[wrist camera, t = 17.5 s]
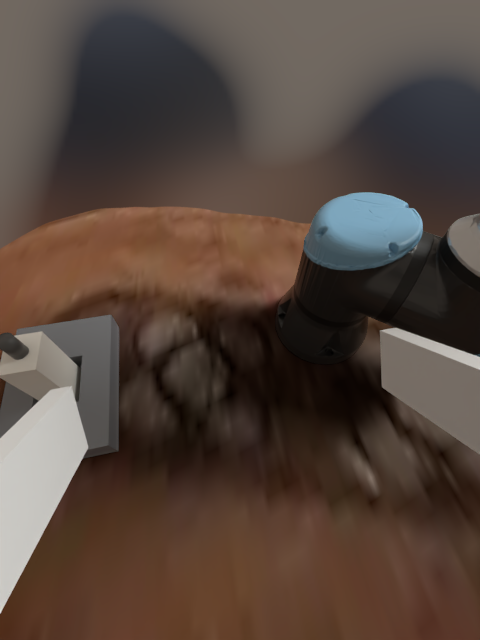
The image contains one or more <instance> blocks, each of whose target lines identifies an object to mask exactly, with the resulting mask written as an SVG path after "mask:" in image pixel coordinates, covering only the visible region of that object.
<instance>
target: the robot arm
mask: <svg viewBox="0 0 480 640" xmlns="http://www.w3.org/2000/svg"><path fill="white" fill-rule="evenodd" d="M422 227H423V226H422V220H421V217H420V216H419V214H418V212H417V211H416V210H415V209H414V208H408V204H407V203H406V202H404V201H402V200H400V199H398V198H395V197H392V196H389V195H385V194H379V193H368V192H366V193H365V192H364V193H354V194H348V195H347V196H342V197H338V198H336V199H333V200H331V201H330V202H328V203H326V204H325V205H324V206H323V207H322V208H321V209H320V210H319V211H318V212H317V214H316V215H315V217H314V219H313V221H312V224H311V227H310V229H309V232H308V234H307V235H306V237H305V240H304V249H303V253H302V257H301V261H300V265H299V269H298V273H297V276H296V280H295V284H294V285H293V286H292V287H291V288H290V290H289V291H288V292H287V293H286V294H285V295H284V296H283V298H282V299H281V301H280V303H279V305H278V308H277V313H276V317H275V326H276V331H277V334H278V336H279V338H280V340H281V341H282V343H283V344H284V345H285V347H286V348H287V349H288V350H289V351H291V352H292V353H293V354H294V355H296V356H298V357H299V358H301V359H303V360H306V361H308V362H312V363H316V364H335V363H339V362H342V361H344V360H346V359H348V358H350V357H351V356H352V355H353V354H354V353H355V352H356V351H357V350H358V349H359V347H360V346H361V345H362V343H363V341H364V339H365V337H366V333H367V326H368V316H369V317H371V318H374V319H376V320H378V321H381V322H383V323H385V324H387V325H390V326H392V327H394V328H391V329H386V330H380V345H381V380H382V388H384V389H385V390H387V391H388V392H389V393H391V394H392V395H394V396H395V397H397V398H398V399H400V400H401V401H403V402H404V403H405V404H407V405H408V406H410V407H411V408H413V409H414V410H416V411H417V412H419V413H420V414H421V415H423V416H424V417H426V418H427V419H429V420H430V421H432V422H433V423H435V424H436V425H437V426H439V427H440V428H442V429H443V430H445V431H446V432H448V433H449V434H451V435H452V436H453V437H455V438H456V439H458V440H459V441H461V442H462V443H464V444H465V445H467V446H468V447H469V448H471V449H472V450H474V451H475V452H477V453H478V454H480V214H477V215H472V216H468V217H464V218H461V219H459V220H457V221H455V222H454V224H453V225H452V226H451V227H450V228H449V229H448V231H447V232H446V234H445V235H444V236H443V237H442V238H441V237H439V236H436V235H433V234H430V233H427V232H423V230H422ZM87 449H88V444H87V440H86V437H85V433H84V429H83V426H82V422H81V419H80V415H79V411H78V408H77V404H76V401H75V397H74V393H73V390H72V386H68V387H63V388H57V389H52V390H50V391H49V392H48V393H47V394H46V395H45V396H44V397H43V398H42V399H41V400H40V401H38V402H37V403H36V404H35V405H34V406H33V407H32V408H31V409H30V410H29V411H28V412H27V413H26V414H25V415H24V416H23V417H22V418H21V419H20V420H19V421H18V422H17V423H16V424H15V425H14V426H13V427H11V428H10V429H9V430H8V431H7V432H6V433H5V434H4V435H3V436H2V437H1V438H0V613H1V611H2V609H3V607H4V606H5V604H6V602H7V600H8V598H9V596H10V594H11V592H12V590H13V589H14V587H15V585H16V583H17V581H18V579H19V577H20V575H21V574H22V572H23V570H24V568H25V566H26V564H27V562H28V560H29V558H30V557H31V555H32V553H33V551H34V549H35V547H36V545H37V543H38V541H39V540H40V538H41V536H42V534H43V532H44V530H45V528H46V526H47V524H48V523H49V521H50V519H51V517H52V515H53V513H54V511H55V509H56V508H57V506H58V504H59V502H60V500H61V498H62V496H63V494H64V492H65V491H66V489H67V487H68V485H69V483H70V481H71V479H72V477H73V475H74V474H75V472H76V470H77V468H78V466H79V464H80V462H81V460H82V459H83V457H84V455H85V453H86V451H87Z"/></svg>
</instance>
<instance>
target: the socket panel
mask: <svg viewBox="0 0 480 640" xmlns="http://www.w3.org/2000/svg"><path fill="white" fill-rule="evenodd" d="M41 331H42V332H43V333H44V334H45V335H46V336H47V337H48V338H49V339H50V340H52V341H53V342H54V343H55V344H56V345H57V346H58V347H59V348H60V349H61V350H62V351H63V352H64V353H65V354H66V355H67V356H68V357H69V358H70V359H71V360H72V361H73V362H74V363H75V364H76V365H77V366H78V367H79V368H81V379H80V393H79V401H78V402H76V404H77V408H78V411H79V415H80V419H81V422H82V426H83V429H84V433H85V437H86V440H87V444H88V449H87V451H86V453H85V455H84V457H83V458H88V457H93V456H97V455H102V454H107V453H112V452H116V451H119V327H118V325H117V323H116V322H115V320H114V319H113V317H112V315H106V316H100V317H93V318H87V319H80V320H74V321H67V322H61V323H54V324H48V325H41V326H35V327H28V328H22V329H17V333H16V335H22V334H28V333H35V332H41ZM37 402H38V400H37V399H35V398H33V397H32V396H30V395H28V394H27V393H25V392H23V391H21V390H20V389H18V388H16V387H15V386H13V385H11V384H10V383H8V382H6V385H5V389H4V394H3V399H2V404H1V408H0V438H1V437H2V436H3V435H4V434H5V433H6V432H7V431H8V430H9V429H10V428H11V427H13V426H14V425H15V424H16V423H17V422H18V421H19V420H20V419H21V418H22V417H23V416H24V415H25V414H26V413H27V412H28V411H29V410H30V409H31V408H32V407H33V406H34V405H35V404H36V403H37Z"/></svg>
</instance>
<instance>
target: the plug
mask: <svg viewBox="0 0 480 640" xmlns="http://www.w3.org/2000/svg"><path fill="white" fill-rule="evenodd" d="M0 349H1V350H2V351H3V353H2V357H1V361H0V378H1V379H3V380H5V381H6V382H8V383H10V384H11V385H13V386H15V387H16V388H18V389H20V390H21V391H23V392H25V393H27V394H28V395H30V396H32V397H33V398H35V399H37V400H38V401H40V400H41V399H42V398H43V397H44V396H45V395H46V394H47V393H48V392H49V391H50V390H52V389H57V388H63V387H68V386H72V390H73V393H74V397H75V401H76V402H78V401H79V393H80V379H81V368H79V367H78V366H77V365H76V364H75V363H74V362H73V361H72V360H71V359H70V358H69V357H68V356H67V355H66V354H65V353H64V352H63V351H62V350H61V349H60V348H59V347H58V346H57V345H56V344H55V343H54V342H53V341H52V340H50V339H49V338H48V337H47V336H46V335H45V334H44V333H43V332H42V331H41V332H35V333H28V334H22V335H15V336H13V335H12V334H11V333H3V334H1V335H0Z"/></svg>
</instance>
